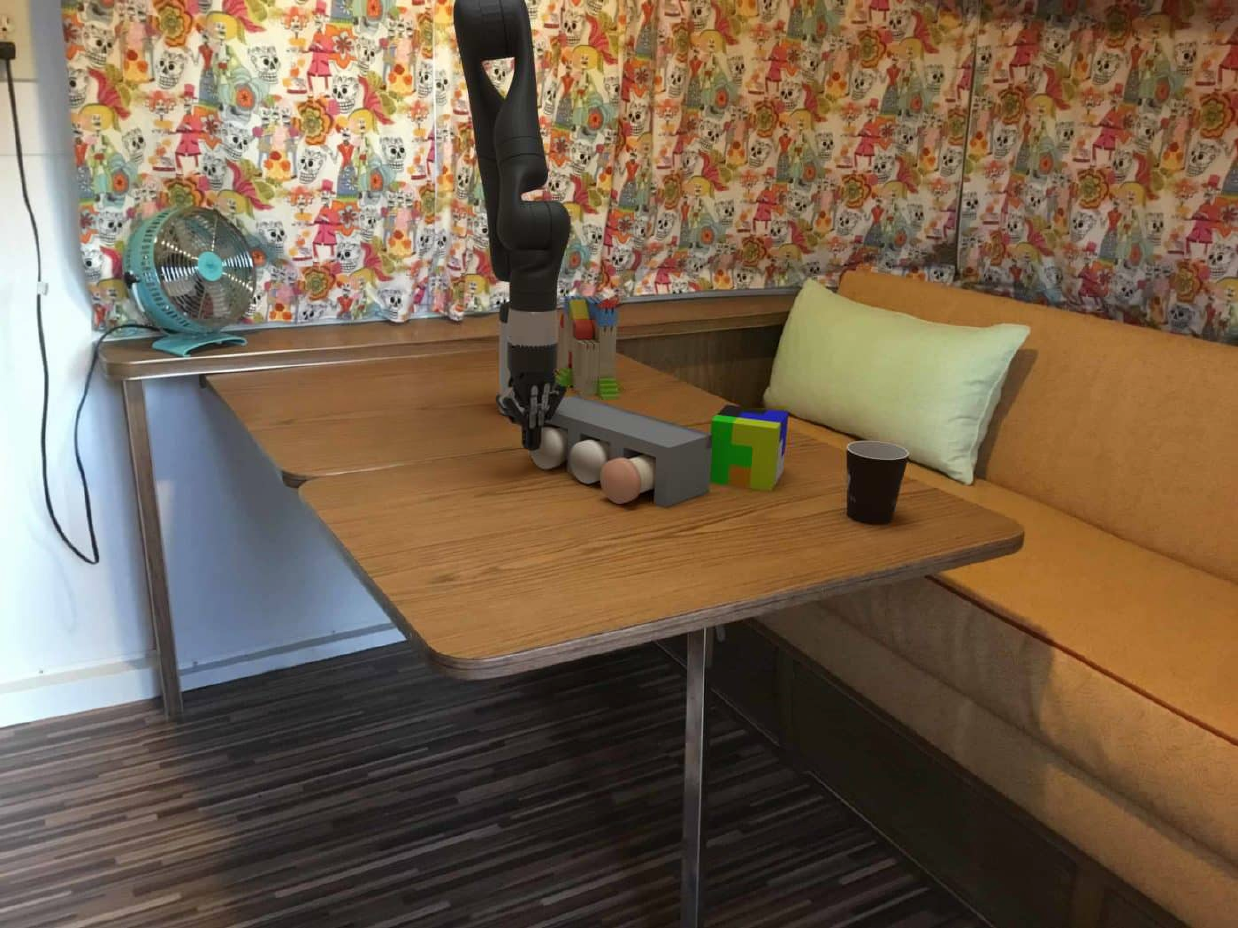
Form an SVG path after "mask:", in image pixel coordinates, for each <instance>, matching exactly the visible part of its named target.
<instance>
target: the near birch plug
mask: <svg viewBox="0 0 1238 928" xmlns="http://www.w3.org/2000/svg"><path fill="white" fill-rule="evenodd" d="M530 454H531V457H532V459H533V460H532V461H533V462H534V463H535V464H536V466H537V467H538V468H539V469H540V468H541V469H542V470H550V469H553V468H556V467H559V466H561V464H563V462H564V461H566V460H567V461H568V429H565V428H562V427H560V428H557V429H554V428H552V427H545V428H542V435H541V445H540V448H539V449H538V450H534V451H529V455H530Z"/></svg>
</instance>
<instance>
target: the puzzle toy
mask: <svg viewBox="0 0 1238 928" xmlns="http://www.w3.org/2000/svg"><path fill="white" fill-rule="evenodd" d="M788 421H789V412H788V411H780V410H773V409H766V408H758V407H757V408H756V407H751V406H750V407H748V406H741V405H732V404H726V405H725V406H723V408H722V409H721V410H720V411H719V412H718V413H717V414H716V415H715V416H714V417H713V418H712V419H711V423H710V424H711V425H710V434H713V441H712V455H711V470H710V483H712V484H713V483H714V484H719V485H726V486H733V487H740V488H747V489H752V490H753V489H754V490H760V491H767V492H772V491H773V489H774V487H775V485H776V484H777V482H778V480H779V479H780V477H781V476H782V474H783V473H784V467H785V466H784V465H785V464H784V463H785V454H786V444H787V435H788Z"/></svg>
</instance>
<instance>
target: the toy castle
mask: <svg viewBox="0 0 1238 928" xmlns="http://www.w3.org/2000/svg"><path fill="white" fill-rule="evenodd" d="M563 298H564V300H563V301H564V302H563V303H564V304H563V311H564V312H563V313H562V314H561V316H560V321H559V323H558V358H557V370H558V372H559V373H560V375H559V374H558V375H555V376H556V382H557V383H559V384H560V385H563V386H573V387H574V388H573V387H572V388H573V389H574V390H575V391H576V390H577V391H578V392H579V393H578V392H577V391H576V392H577V393H578V394H579V396H581V395H588V396H598V397H599V399H601V398H602V399H601V400H603V399H606V400H615V399H614V398H619V399H620V394H619V390H624V389H623V388H625V386H624V385H623V384H622V383H620V381H619V380H618V379H617V378H616V356H617V355H616V354H617V353H616V352H617V326H618V321H619V319H618V315H619V308H618V306H616V305H615V304H614V303H613V302H612V301H611V300H610V299H609V298H605V299H604V298H603V297H601V296H599V295H579V294H578V295H564V296H563ZM618 389H619V390H618ZM595 394H596V395H595ZM611 398H612V399H611Z"/></svg>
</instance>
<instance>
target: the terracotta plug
mask: <svg viewBox="0 0 1238 928" xmlns="http://www.w3.org/2000/svg"><path fill="white" fill-rule="evenodd" d="M655 469H656V457H653V456H650V455H647V454H645V455H641V456H638V457H635V458H631V459H626V458H617V459H614V460H610V461H608V462H606V463H605V464H604V465H603V467H602V469H601V473H600V486H601V489H602V491H603V493H604V495H605V496H606V497H607V498H608V500H609V501H611V502H612V503H614V504H618V505H621V504H625V503H629V502H631V501H633V500H636V498H638V496H639V495H640V494H642V493H645V492H647V491H651V490H653V489H655Z"/></svg>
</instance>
